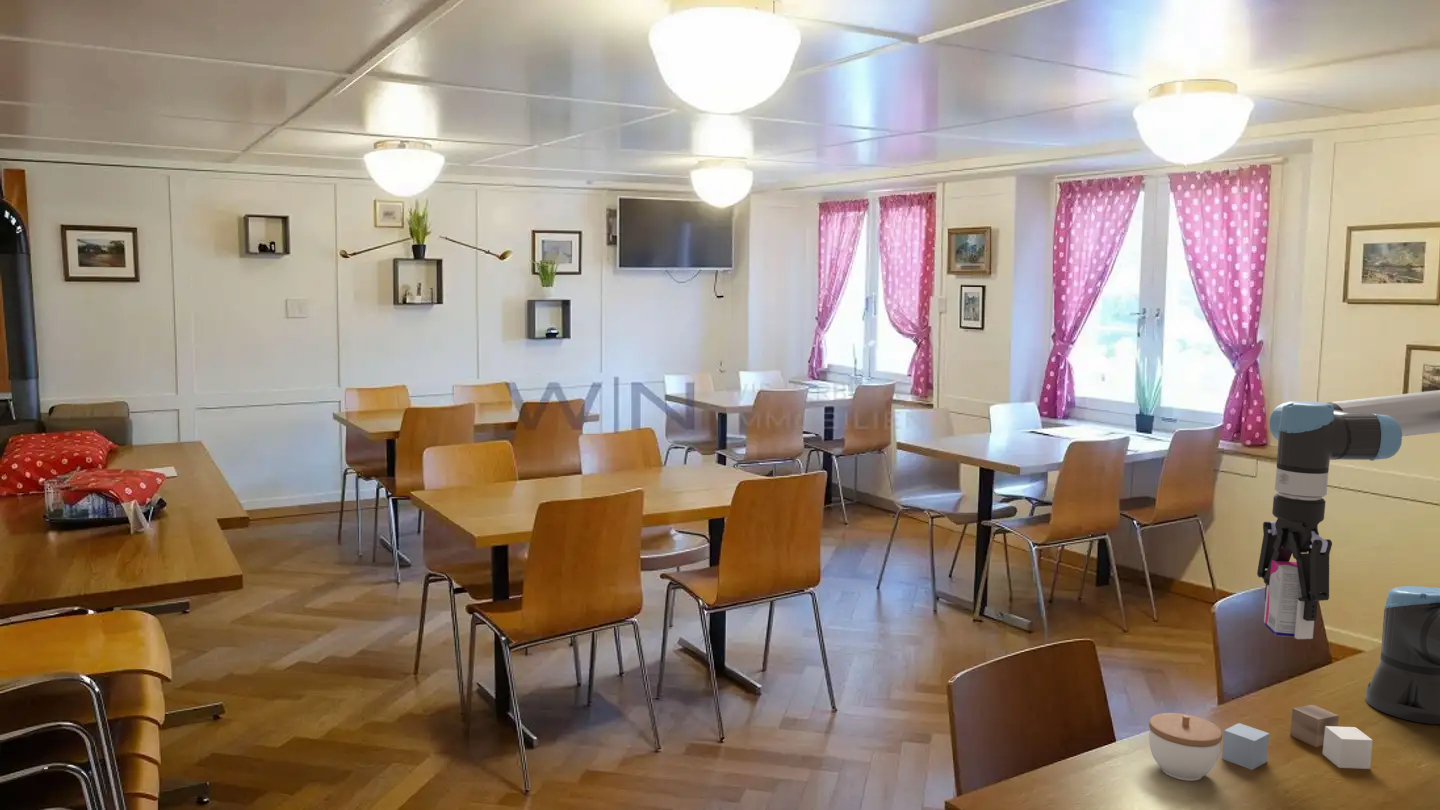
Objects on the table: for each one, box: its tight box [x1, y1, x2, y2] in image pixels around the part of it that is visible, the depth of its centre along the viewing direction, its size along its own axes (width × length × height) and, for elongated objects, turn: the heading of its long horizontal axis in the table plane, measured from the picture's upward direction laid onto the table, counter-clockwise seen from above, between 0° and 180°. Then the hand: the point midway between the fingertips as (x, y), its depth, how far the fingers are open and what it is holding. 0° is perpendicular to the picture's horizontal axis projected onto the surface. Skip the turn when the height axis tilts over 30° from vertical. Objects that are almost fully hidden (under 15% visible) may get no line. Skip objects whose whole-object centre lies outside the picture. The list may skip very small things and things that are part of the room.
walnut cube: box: [1289, 704, 1340, 748], centre depth 183 cm, size 5×5×5 cm
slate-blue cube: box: [1221, 722, 1270, 771], centre depth 174 cm, size 5×5×5 cm
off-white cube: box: [1322, 726, 1374, 770], centre depth 175 cm, size 5×5×5 cm
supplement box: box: [1264, 560, 1310, 638], centre depth 176 cm, size 6×6×12 cm
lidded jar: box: [1148, 712, 1223, 782], centre depth 169 cm, size 11×11×9 cm
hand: (1287, 630), depth 176 cm, fingers closed on supplement box, 7 cm apart
